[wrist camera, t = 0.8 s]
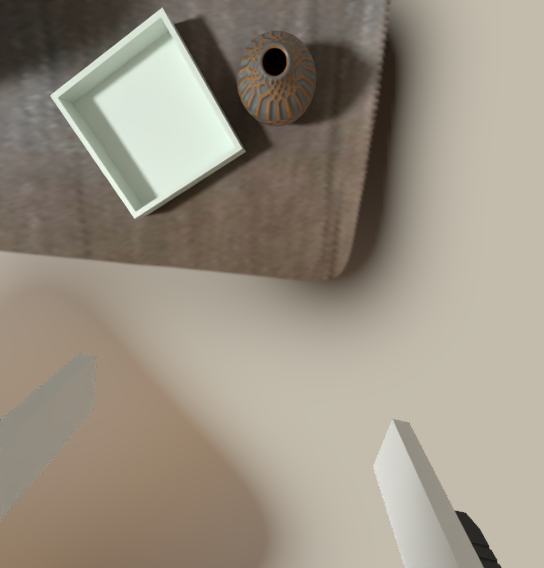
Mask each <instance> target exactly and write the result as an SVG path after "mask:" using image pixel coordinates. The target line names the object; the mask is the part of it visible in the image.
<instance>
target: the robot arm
mask: <svg viewBox="0 0 544 568" xmlns="http://www.w3.org/2000/svg"><path fill="white" fill-rule="evenodd" d="M96 366H97V357H95V356H91V355H85V354H81V353H79V354H78V355H76V356H75V357H74V358H73V359H72V360H71V361H69V362H68V363H67V364H66V365H65V366H64V367H62V368H61V369H60V370H59V371H58V372H57V373H55V374H54V375H53V376H52V377H51V378H49V379H48V380H47V381H46V382H45V383H43V384H42V385H41V386H40V387H39V388H38V389H36V390H35V391H34V392H33V393H32V394H30V395H29V396H28V397H27V398H26V399H25V400H23V401H22V402H21V403H20V404H19V405H17V406H16V407H15V408H14V409H13V410H11V411H10V412H9V413H8V414H7V415H5V416H4V417H3V418H2V419H0V521H1V520H2V519H3V518H4V517H5V515H6V514H7V513H8V512H9V511H10V509H11V508H12V507H13V506H14V505H15V503H16V502H17V501H18V500H19V498H20V497H21V496H22V495H23V494H24V492H25V491H26V490H27V489H28V488H29V487H30V485H31V484H32V483H33V482H34V480H35V479H36V478H37V477H38V475H40V473H41V472H42V471H43V470H44V468H45V467H46V466H47V465H48V464H49V462H50V461H51V460H52V459H53V458H54V456H55V455H56V454H57V453H58V452H59V450H60V449H61V448H62V447H63V446H64V444H65V443H66V442H67V441H68V439H69V438H70V437H71V436H72V434H73V433H74V432H75V431H76V430H77V429H78V427H79V426H80V425H81V424H82V423H83V422H84V420H85V419H86V418H87V417H88V415H89V414H90V413H91V412H92V411H93V410H94V398H95V397H94V396H95V382H96ZM373 468H374V471H375V474H376V477H377V480H378V484H379V487H380V490H381V493H382V496H383V500H384V503H385V506H386V510H387V513H388V516H389V519H390V522H391V526H392V529H393V532H394V535H395V539H396V542H397V545H398V548H399V551H400V555H401V558H402V561H403V564H404V568H501V566H500V565H499V564H498V563H497V559H496V557H495V556H494V554H493V552H492V550H490V549H489V545H488V543H487V541H486V539H485V538H484V536H483V534H482V532H481V530H480V529H479V528H478V526H477V525H476V524H475V523H474V522H473V521H472V519H470V517H469V516H468V515H467V514H466V513H464V512H459V511H454V509H453V507H452V505H451V504H450V501H449V500H448V497H447V495H446V493H445V491H444V489H443V487H442V485H441V484H440V482H439V480H438V478H437V476H436V474H435V472H434V470H433V468H432V466H431V464H430V462H429V460H428V458H427V456H426V455H425V453H424V451H423V449H422V447H421V445H420V443H419V441H418V439H417V437H416V435H415V433H414V431H413V429H412V427H411V425H410V423H408V422H403V421H399V420H394V419H393V420H392V422H391V424H390V427H389V429H388V432H387V434H386V436H385V439H384V442H383V444H382V446H381V449H380V451H379V454H378V456H377V459H376V461H375V463H374V466H373Z"/></svg>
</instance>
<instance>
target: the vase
mask: <svg viewBox="0 0 544 568" xmlns="http://www.w3.org/2000/svg"><path fill="white" fill-rule="evenodd" d="M237 87H238V92H239V96H240V98H241V101H242V103H243V105H244V107H245V108H246V110H247V111H248V112H249V113H250V115H251V116H253V117H254V118H255V119H256V120H258V121H259V122H261V123H263V124H266V125H269V126H284V125H287V124H290V123H292V122H294V121H295V120H297V119H298V118H300V117H301V116H302V115H303V113H304V112H305V111H306V110H307V108H308V107H309V105H310V103H311V101H312V99H313V96H314V93H315V88H316V69H315V64H314V61H313V58H312V56H311V54H310V52H309V50H308V49H307V47H306V46H305V45H304V44H303V42H301V41H300V40H299V39H298V38H297V37H295V36H294V35H292V34H290V33H287V32H283V31H270V32H267V33H264V34H262V35H260V36H258V37H257V38H255V39H254V40H253V41H252V42H251V43H250V44H249V45H248V46H247V48H246V49H245V51H244V53H243V54H242V56H241V59H240V62H239V65H238V70H237Z"/></svg>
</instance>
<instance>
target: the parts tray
mask: <svg viewBox="0 0 544 568" xmlns="http://www.w3.org/2000/svg"><path fill="white" fill-rule="evenodd" d="M50 96H51V98H52V99H53V101H54V102H55V103H56V105H57V106H58V108H59V109H60V111H61V112H62V114H63V115H64V117H65V118H66V119H67V121H68V122H69V124H70V125H71V127H72V128H73V130H74V131H75V133H76V134H77V135H78V137H79V138H80V140H81V141H82V143H83V144H84V146H85V147H86V149H87V150H88V151H89V153H90V154H91V156H92V157H93V159H94V160H95V162H96V163H97V165H98V166H99V167H100V169H101V170H102V172H103V173H104V175H105V176H106V178H107V179H108V181H109V182H110V183H111V185H112V186H113V188H114V189H115V191H116V192H117V194H118V195H119V197H120V198H121V199H122V201H123V202H124V204H125V205H126V207H127V208H128V210H129V211H130V213H131V214H132V215H133V217H134V218H140V217H144V216H147V215H149V214H150V213H152V212H153V211H155V210H156V209H158V208H160V207H161V206H163V205H164V204H166V203H167V202H169V201H170V200H172V199H174V198H175V197H177V196H178V195H180V194H181V193H183V192H184V191H186V190H187V189H189V188H191V187H192V186H194V185H195V184H197V183H198V182H200V181H201V180H203V179H205V178H206V177H208V176H209V175H211V174H212V173H214V172H215V171H217V170H219V169H220V168H222V167H223V166H225V165H226V164H228V163H229V162H231V161H232V160H234V159H236V158H237V157H239V156H240V155H242V154H243V153H245V152H246V151H245V149H244V147H243V145H242V143H241V142H240V140H239V138H238V136H237V135H236V133H235V131H234V129H233V128H232V126H231V124H230V122H229V120H228V119H227V117H226V115H225V113H224V112H223V110H222V108H221V106H220V105H219V103H218V101H217V99H216V97H215V96H214V94H213V92H212V90H211V89H210V87H209V85H208V83H207V82H206V80H205V78H204V76H203V75H202V73H201V71H200V69H199V67H198V66H197V64H196V62H195V60H194V59H193V57H192V55H191V53H190V52H189V50H188V48H187V46H186V44H185V43H184V41H183V39H182V37H181V36H180V34H179V32H178V30H177V29H176V27H175V25H174V23H173V22H172V21H171V19H170V18H169V16H168V15H167V14H166V12H165V11H164V9H163V8H161V9H160V10H159V11H157V12H156V13H155V14H154V15H152V16H151V17H150V18H149V19H147V20H146V21H145V22H143V23H142V24H141V25H140V26H138V27H137V28H136V29H135V30H133V31H132V32H131V33H129V34H128V35H127V36H126V37H124V38H123V39H122V40H120V41H119V42H118V43H117V44H115V45H114V46H113V47H112V48H110V49H109V50H108V51H106V52H105V53H104V54H103V55H101V56H100V57H99V58H98V59H96V60H95V61H94V62H92V63H91V64H90V65H89V66H87V67H86V68H85V69H84V70H82V71H81V72H80V73H78V74H77V75H76V76H75V77H73V78H72V79H71V80H69V81H68V82H67V83H66V84H64V85H63V86H62V87H61V88H59V89H58V90H57V91H55V92H54V93H53V94H52V95H50Z"/></svg>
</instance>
